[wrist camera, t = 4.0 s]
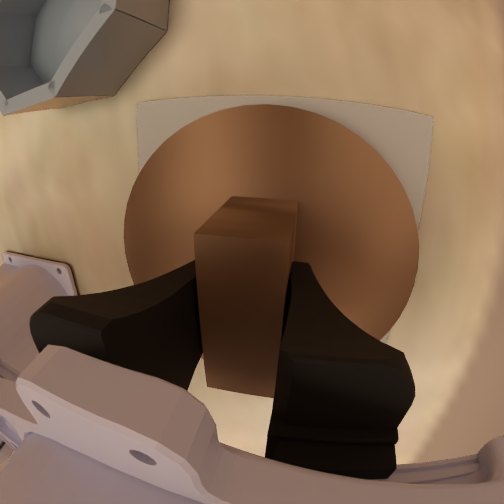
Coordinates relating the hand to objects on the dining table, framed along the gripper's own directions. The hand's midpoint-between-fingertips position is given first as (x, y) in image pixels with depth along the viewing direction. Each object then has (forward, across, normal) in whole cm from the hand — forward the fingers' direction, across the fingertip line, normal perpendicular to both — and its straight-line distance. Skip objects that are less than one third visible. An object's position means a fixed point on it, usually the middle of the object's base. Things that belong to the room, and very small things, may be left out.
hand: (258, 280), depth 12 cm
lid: (+2, 0, 0) cm, 2 cm away
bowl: (+4, +11, -13) cm, 17 cm away
